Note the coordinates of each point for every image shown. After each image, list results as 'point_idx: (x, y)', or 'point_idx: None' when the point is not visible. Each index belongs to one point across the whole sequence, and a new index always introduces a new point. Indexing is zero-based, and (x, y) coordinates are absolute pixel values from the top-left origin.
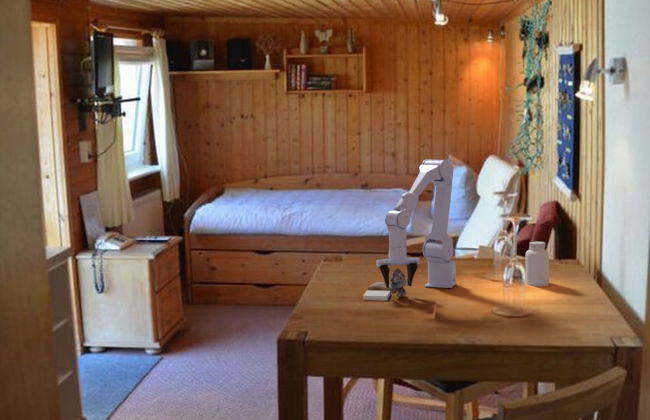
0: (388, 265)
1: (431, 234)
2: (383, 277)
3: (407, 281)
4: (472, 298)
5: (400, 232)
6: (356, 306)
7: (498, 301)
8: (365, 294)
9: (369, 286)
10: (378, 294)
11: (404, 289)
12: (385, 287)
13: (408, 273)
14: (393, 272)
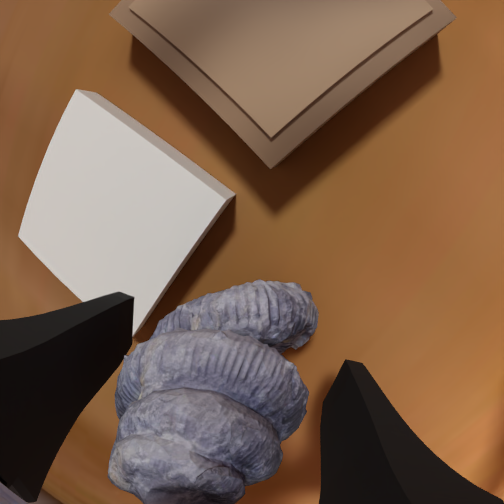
0: (1, 489)
1: None
2: (45, 317)
3: (351, 378)
4: (498, 458)
5: None
6: (8, 317)
7: (493, 494)
8: (31, 212)
9: (127, 3)
10: (92, 264)
11: (308, 332)
12: (224, 95)
13: (355, 472)
14: (112, 454)
